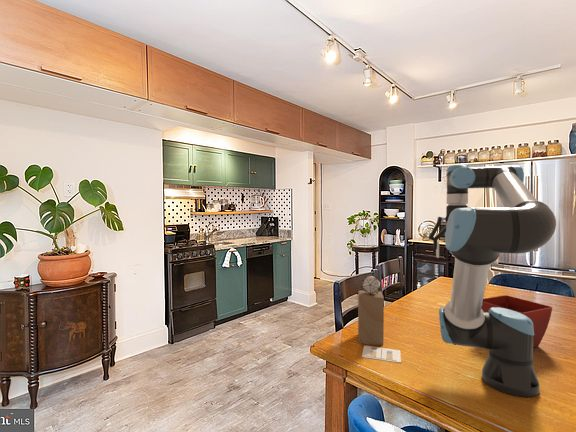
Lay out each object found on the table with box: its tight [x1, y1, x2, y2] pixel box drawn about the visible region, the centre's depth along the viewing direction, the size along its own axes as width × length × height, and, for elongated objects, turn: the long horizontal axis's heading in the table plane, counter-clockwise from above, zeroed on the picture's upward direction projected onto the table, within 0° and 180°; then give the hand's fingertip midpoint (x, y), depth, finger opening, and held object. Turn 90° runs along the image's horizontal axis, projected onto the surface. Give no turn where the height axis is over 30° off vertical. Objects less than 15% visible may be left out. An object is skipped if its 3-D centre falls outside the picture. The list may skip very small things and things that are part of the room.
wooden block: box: [357, 290, 385, 346], centre depth 134 cm, size 10×10×20 cm
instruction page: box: [361, 345, 402, 364], centre depth 121 cm, size 10×14×1 cm
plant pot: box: [481, 294, 553, 348], centre depth 131 cm, size 19×19×17 cm
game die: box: [360, 274, 383, 295], centre depth 133 cm, size 9×8×10 cm
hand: (456, 258), depth 124 cm, fingers open, 13 cm apart
